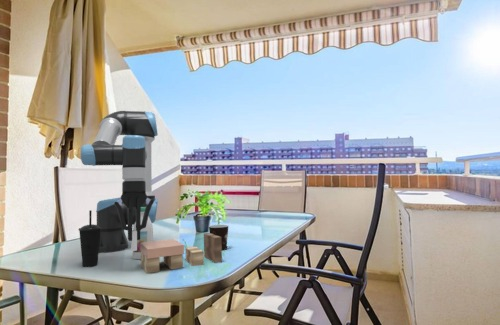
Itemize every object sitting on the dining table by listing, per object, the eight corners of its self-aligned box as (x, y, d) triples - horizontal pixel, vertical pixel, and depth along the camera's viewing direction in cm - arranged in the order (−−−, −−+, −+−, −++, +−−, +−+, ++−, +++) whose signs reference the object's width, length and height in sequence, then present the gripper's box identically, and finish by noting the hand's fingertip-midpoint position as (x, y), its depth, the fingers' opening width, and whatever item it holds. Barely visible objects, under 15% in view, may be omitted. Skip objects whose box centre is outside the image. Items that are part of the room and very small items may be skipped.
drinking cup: (79, 264, 116) (80, 210, 117) (102, 262, 118) (102, 209, 120) (76, 269, 109) (77, 211, 110) (100, 266, 111) (100, 210, 113)
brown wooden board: (204, 256, 123) (203, 233, 124) (209, 255, 124) (209, 233, 125) (215, 263, 113) (215, 237, 113) (221, 262, 114) (221, 237, 114)
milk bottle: (144, 254, 130) (144, 206, 131) (157, 256, 126) (157, 206, 127) (128, 258, 123) (128, 207, 124) (141, 260, 119) (141, 208, 120)
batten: (185, 260, 119) (185, 247, 119) (196, 258, 121) (195, 246, 121) (192, 266, 109) (192, 252, 109) (203, 265, 111) (203, 251, 111)
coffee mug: (219, 246, 142) (218, 224, 143) (233, 248, 137) (232, 225, 138) (199, 251, 133) (199, 227, 134) (213, 253, 128) (213, 229, 129)
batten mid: (163, 262, 115) (163, 248, 115) (174, 261, 117) (174, 247, 117) (171, 269, 105) (171, 254, 106) (182, 267, 107) (182, 253, 108)
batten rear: (141, 265, 111) (141, 251, 111) (152, 264, 113) (152, 250, 113) (146, 273, 101) (146, 257, 102) (159, 271, 103) (159, 256, 104)
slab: (140, 250, 113) (140, 242, 113) (173, 247, 119) (173, 239, 119) (147, 258, 101) (147, 249, 101) (183, 253, 106) (183, 244, 106)
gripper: (151, 180, 113) (151, 246, 112) (112, 181, 107) (112, 250, 105) (155, 179, 107) (156, 249, 105) (114, 180, 101) (114, 254, 99)
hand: (134, 250), depth 105 cm, fingers closed
